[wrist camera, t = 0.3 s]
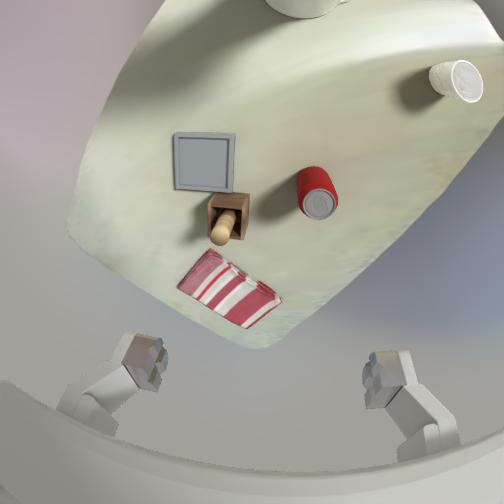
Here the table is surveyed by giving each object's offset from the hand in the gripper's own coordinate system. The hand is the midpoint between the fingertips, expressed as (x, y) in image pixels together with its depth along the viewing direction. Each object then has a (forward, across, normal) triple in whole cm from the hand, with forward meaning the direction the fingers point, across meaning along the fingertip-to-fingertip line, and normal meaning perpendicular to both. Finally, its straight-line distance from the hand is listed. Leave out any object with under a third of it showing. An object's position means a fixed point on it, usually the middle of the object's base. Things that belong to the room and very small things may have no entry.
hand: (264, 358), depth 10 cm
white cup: (+47, -32, -18) cm, 59 cm away
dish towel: (+48, +12, +39) cm, 63 cm away
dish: (+47, +16, +4) cm, 49 cm away
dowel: (+46, +10, +15) cm, 50 cm away
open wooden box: (+47, +10, +15) cm, 50 cm away
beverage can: (+47, -6, +8) cm, 48 cm away
